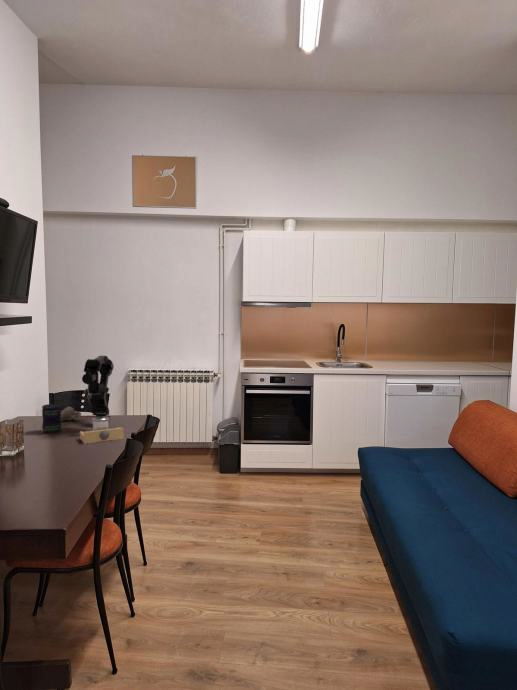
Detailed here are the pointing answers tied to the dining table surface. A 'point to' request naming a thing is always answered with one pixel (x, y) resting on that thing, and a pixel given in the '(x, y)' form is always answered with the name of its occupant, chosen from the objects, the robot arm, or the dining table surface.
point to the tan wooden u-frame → (102, 435)
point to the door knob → (100, 423)
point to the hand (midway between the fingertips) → (93, 408)
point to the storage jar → (51, 418)
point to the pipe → (69, 414)
